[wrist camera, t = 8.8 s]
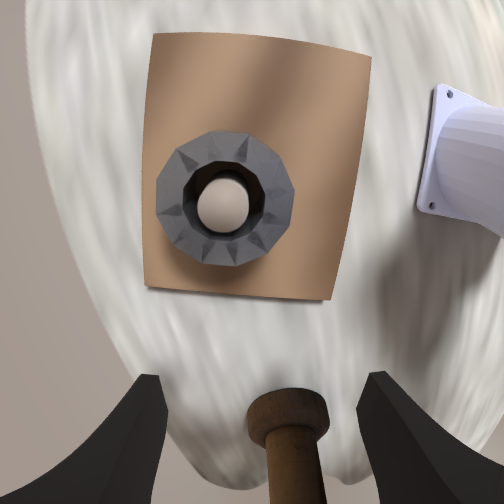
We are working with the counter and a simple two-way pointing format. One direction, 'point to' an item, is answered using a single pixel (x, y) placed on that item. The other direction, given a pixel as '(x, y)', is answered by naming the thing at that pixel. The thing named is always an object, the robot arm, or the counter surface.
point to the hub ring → (186, 197)
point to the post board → (269, 132)
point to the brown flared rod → (291, 443)
